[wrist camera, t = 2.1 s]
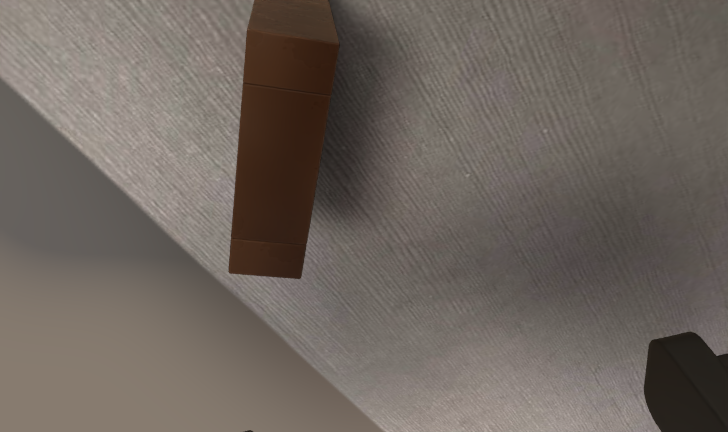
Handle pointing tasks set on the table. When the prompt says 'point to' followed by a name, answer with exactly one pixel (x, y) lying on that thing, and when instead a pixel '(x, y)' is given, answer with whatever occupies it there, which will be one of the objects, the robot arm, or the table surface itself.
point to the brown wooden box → (281, 133)
